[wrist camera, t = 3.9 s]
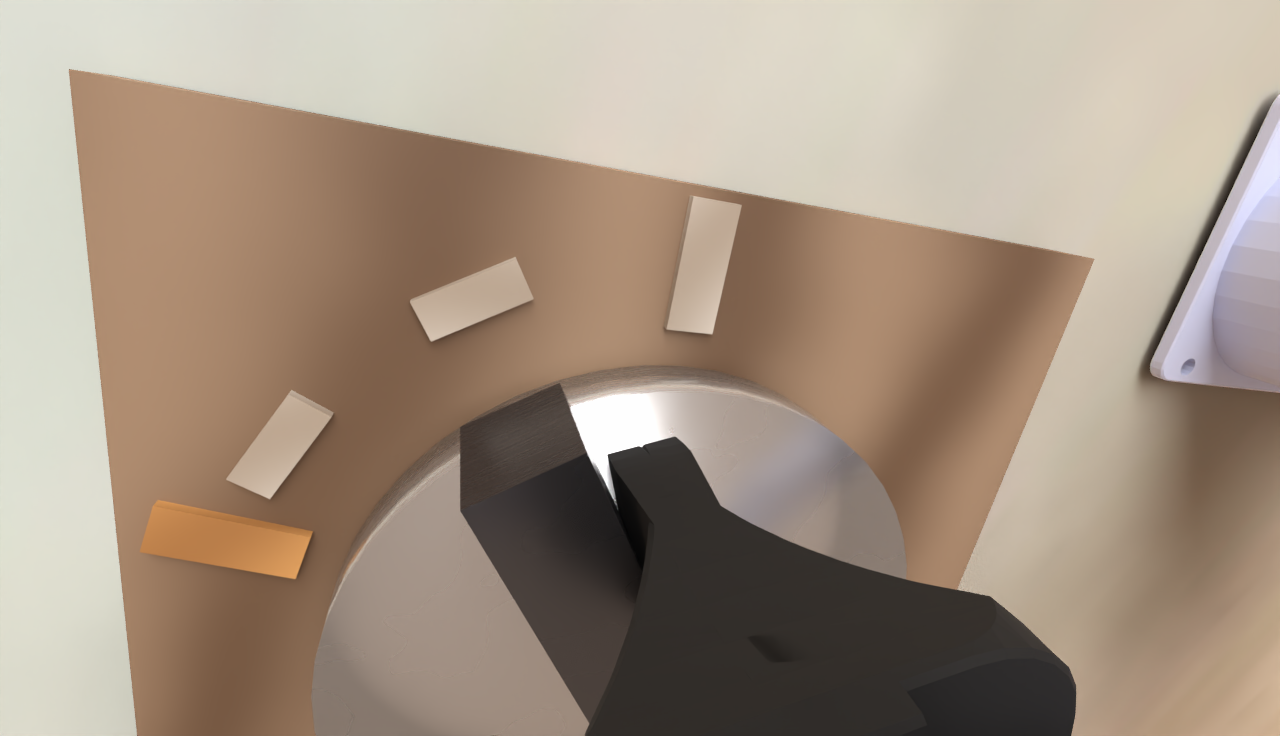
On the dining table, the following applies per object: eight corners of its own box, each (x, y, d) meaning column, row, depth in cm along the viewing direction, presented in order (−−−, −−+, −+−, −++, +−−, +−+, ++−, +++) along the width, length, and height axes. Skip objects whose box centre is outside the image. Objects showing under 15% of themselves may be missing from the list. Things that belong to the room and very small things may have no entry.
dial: (807, 242, 12) (946, 287, 9) (904, 670, 18) (1011, 800, 15) (163, 523, 11) (24, 711, 7) (490, 889, 17) (499, 1092, 13)
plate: (1051, 249, 16) (1102, 260, 15) (835, 801, 22) (857, 842, 21) (112, 75, 10) (60, 67, 8) (181, 907, 16) (157, 974, 15)
